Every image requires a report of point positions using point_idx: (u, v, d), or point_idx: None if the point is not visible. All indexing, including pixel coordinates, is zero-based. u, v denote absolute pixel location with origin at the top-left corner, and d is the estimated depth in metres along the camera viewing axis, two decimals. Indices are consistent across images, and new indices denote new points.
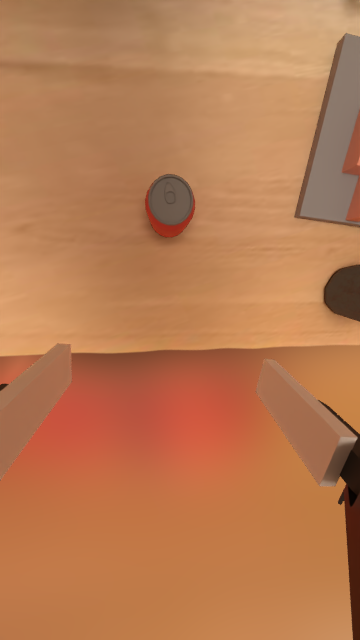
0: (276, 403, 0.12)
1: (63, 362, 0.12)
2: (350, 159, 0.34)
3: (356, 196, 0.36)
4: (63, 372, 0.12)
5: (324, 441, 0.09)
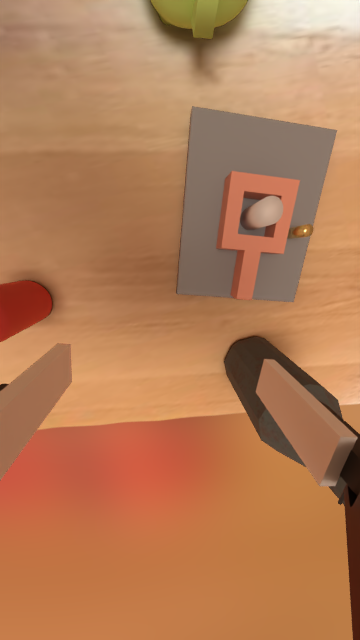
0: (276, 403, 0.13)
1: (63, 362, 0.12)
2: (219, 238, 0.30)
3: (235, 273, 0.32)
4: (63, 372, 0.12)
5: (324, 441, 0.09)
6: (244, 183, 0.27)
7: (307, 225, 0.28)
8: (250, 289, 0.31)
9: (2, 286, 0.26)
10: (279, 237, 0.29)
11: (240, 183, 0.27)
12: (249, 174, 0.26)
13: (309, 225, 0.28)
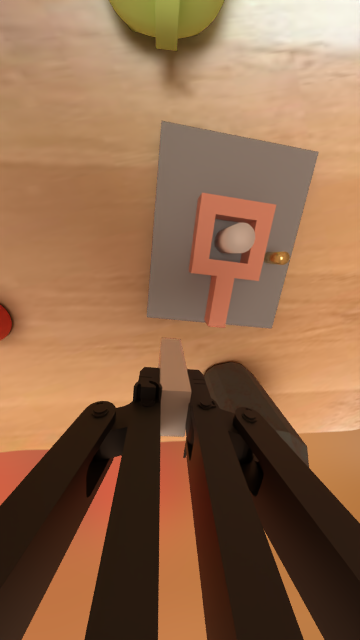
0: None
1: None
2: (191, 261, 0.28)
3: (209, 298, 0.30)
4: None
5: None
6: (215, 206, 0.25)
7: (283, 253, 0.26)
8: (222, 317, 0.29)
9: None
10: (254, 263, 0.27)
11: (211, 206, 0.25)
12: (221, 197, 0.24)
13: (285, 253, 0.26)
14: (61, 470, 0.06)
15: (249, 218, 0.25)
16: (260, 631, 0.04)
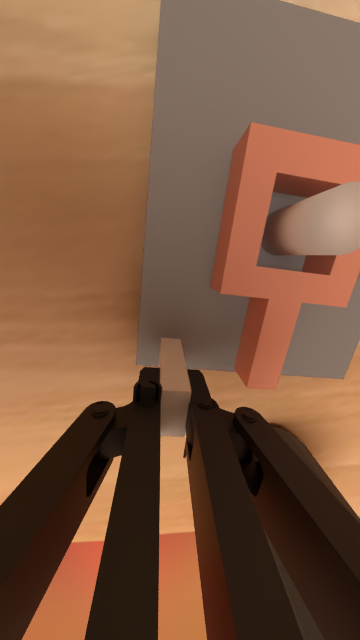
0: None
1: None
2: (217, 270, 0.15)
3: (246, 334, 0.17)
4: None
5: None
6: (278, 154, 0.11)
7: None
8: (274, 371, 0.16)
9: None
10: (342, 275, 0.14)
11: (269, 154, 0.11)
12: (291, 134, 0.11)
13: None
14: (61, 470, 0.06)
15: (343, 183, 0.12)
16: (260, 631, 0.04)
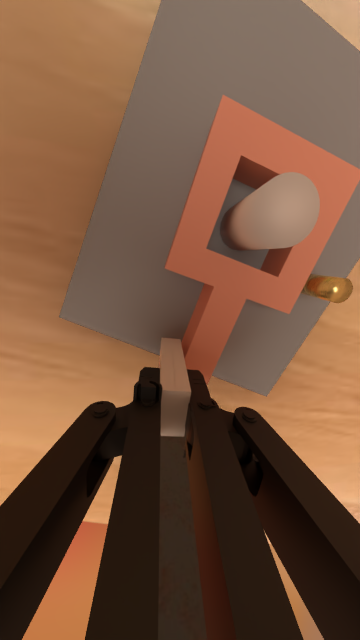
0: None
1: None
2: (171, 247, 0.14)
3: (191, 323, 0.16)
4: None
5: None
6: (245, 136, 0.11)
7: (344, 280, 0.13)
8: (208, 365, 0.15)
9: None
10: (289, 280, 0.14)
11: (236, 134, 0.11)
12: (261, 120, 0.11)
13: (347, 282, 0.13)
14: (61, 470, 0.06)
15: None
16: (259, 631, 0.04)
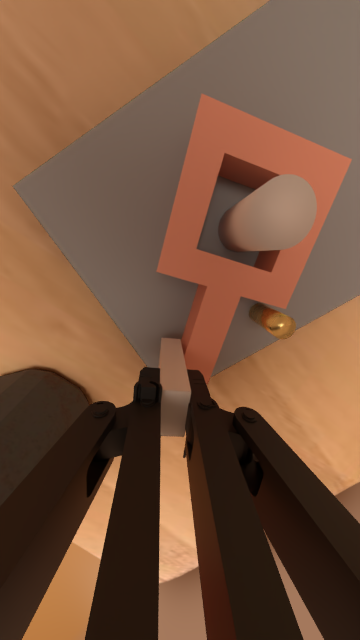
0: None
1: None
2: None
3: (188, 323, 0.16)
4: None
5: None
6: (227, 133, 0.11)
7: (291, 321, 0.14)
8: (207, 365, 0.15)
9: None
10: (283, 274, 0.14)
11: (218, 131, 0.11)
12: (242, 115, 0.11)
13: (293, 324, 0.14)
14: (61, 470, 0.06)
15: None
16: (260, 632, 0.04)
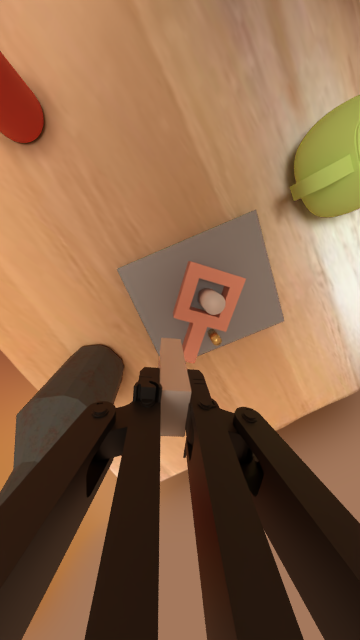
0: None
1: None
2: (175, 307, 0.35)
3: (186, 337, 0.37)
4: None
5: None
6: (199, 272, 0.32)
7: (220, 338, 0.34)
8: (193, 355, 0.36)
9: (10, 68, 0.22)
10: (224, 318, 0.34)
11: (196, 271, 0.32)
12: (205, 266, 0.32)
13: (220, 340, 0.34)
14: (61, 470, 0.06)
15: (224, 285, 0.33)
16: (260, 631, 0.04)
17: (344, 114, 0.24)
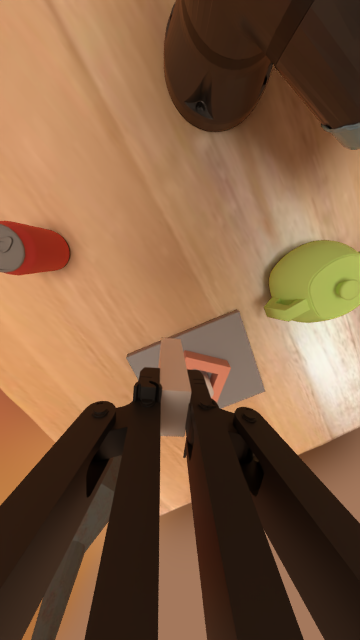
0: None
1: None
2: None
3: None
4: None
5: None
6: (193, 364, 0.39)
7: None
8: None
9: (49, 243, 0.30)
10: (213, 396, 0.42)
11: (190, 364, 0.39)
12: (197, 360, 0.39)
13: None
14: (61, 470, 0.06)
15: (213, 372, 0.40)
16: (260, 632, 0.04)
17: (302, 268, 0.31)
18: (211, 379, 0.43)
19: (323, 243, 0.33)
